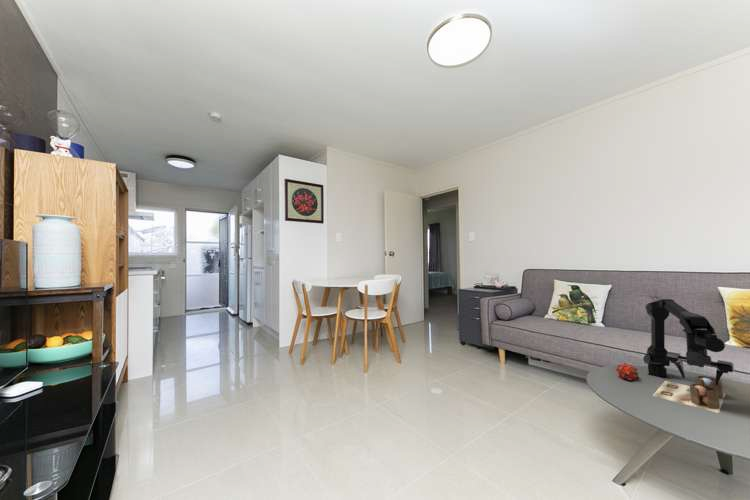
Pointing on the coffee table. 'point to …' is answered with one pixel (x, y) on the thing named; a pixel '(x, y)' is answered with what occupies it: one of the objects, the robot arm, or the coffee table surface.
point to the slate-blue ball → (706, 381)
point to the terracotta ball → (701, 390)
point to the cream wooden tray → (693, 393)
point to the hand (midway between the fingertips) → (699, 381)
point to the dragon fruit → (627, 371)
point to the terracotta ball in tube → (704, 399)
